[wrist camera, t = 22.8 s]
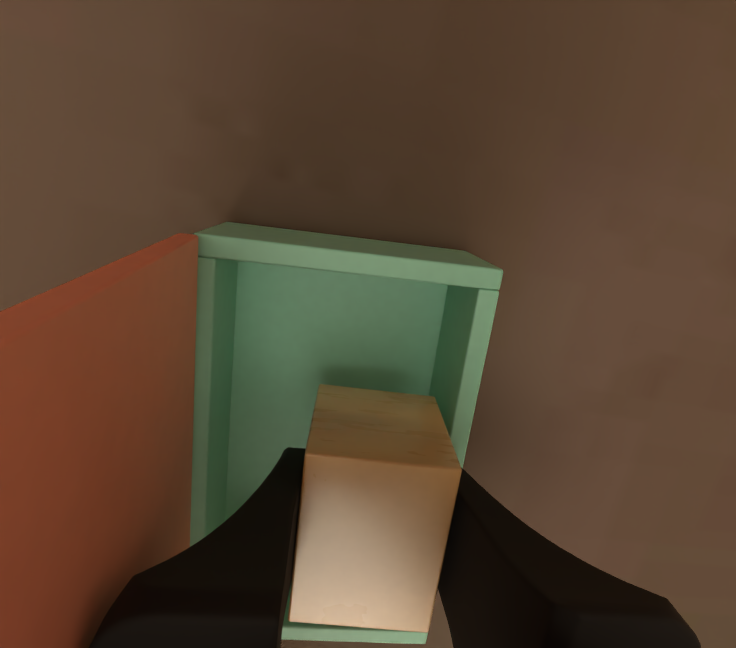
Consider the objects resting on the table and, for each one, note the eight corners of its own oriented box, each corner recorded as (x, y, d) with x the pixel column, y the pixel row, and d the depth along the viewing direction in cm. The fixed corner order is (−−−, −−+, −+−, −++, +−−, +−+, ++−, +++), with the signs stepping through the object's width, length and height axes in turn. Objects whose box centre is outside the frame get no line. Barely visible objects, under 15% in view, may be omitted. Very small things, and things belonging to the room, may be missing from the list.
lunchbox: (466, 250, 16) (504, 269, 13) (409, 561, 20) (426, 645, 16) (225, 221, 15) (191, 232, 12) (210, 551, 19) (182, 637, 15)
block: (411, 526, 16) (428, 634, 12) (304, 516, 16) (287, 622, 12) (435, 395, 15) (463, 469, 11) (318, 383, 14) (304, 453, 10)
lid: (-48, 370, 3) (-779, 327, 3) (54, 1199, 7) (-247, 1262, 6) (199, 235, 12) (33, 216, 11) (187, 645, 15) (62, 649, 15)
